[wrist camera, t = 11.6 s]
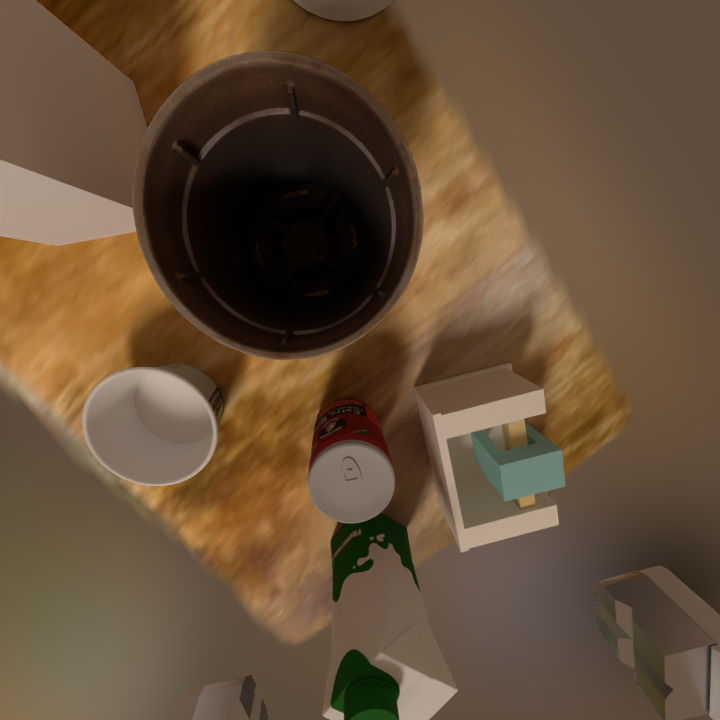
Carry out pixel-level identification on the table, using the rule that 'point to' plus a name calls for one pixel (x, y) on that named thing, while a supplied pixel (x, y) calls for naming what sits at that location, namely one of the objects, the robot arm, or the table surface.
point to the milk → (63, 133)
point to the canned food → (350, 464)
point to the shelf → (457, 460)
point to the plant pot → (277, 205)
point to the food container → (153, 423)
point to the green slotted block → (520, 465)
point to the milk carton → (381, 630)
